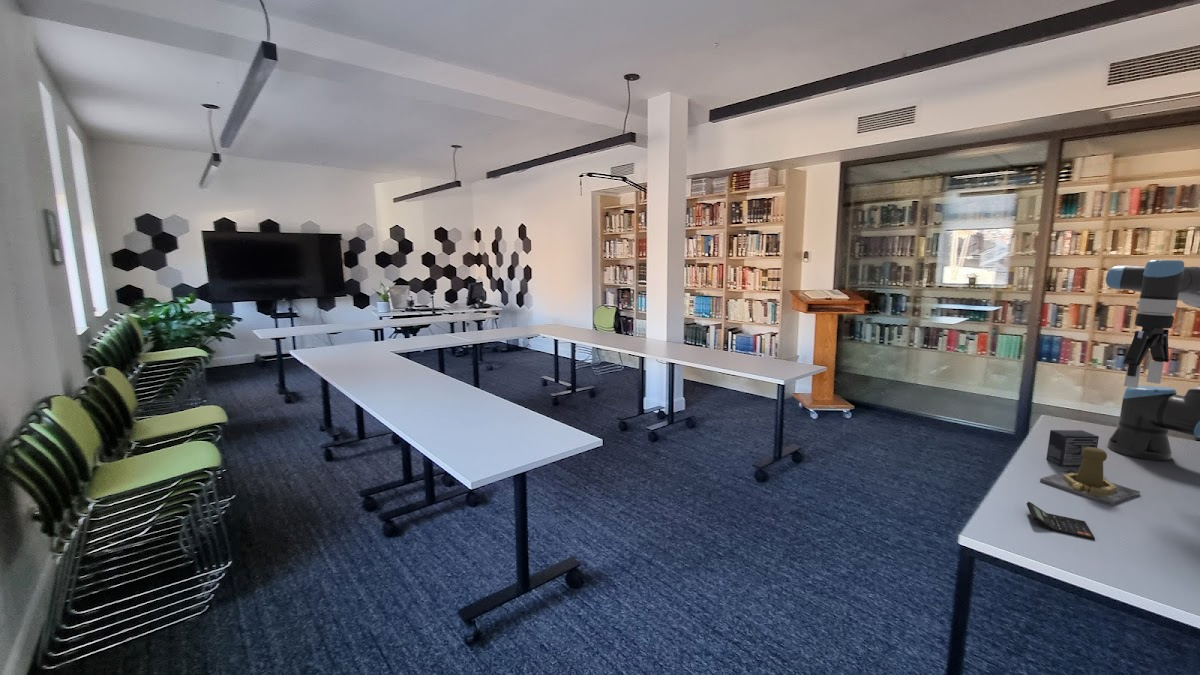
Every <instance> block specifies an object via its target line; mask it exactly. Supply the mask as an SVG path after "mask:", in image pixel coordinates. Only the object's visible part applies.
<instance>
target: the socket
mask: <svg viewBox="0 0 1200 675" xmlns="http://www.w3.org/2000/svg"><path fill="white" fill-rule="evenodd" d="M1077 474H1078V471H1076V470H1072V469H1068V470H1064V471H1061V472H1057V473H1054V474H1050V475H1047V476H1044V477H1041V478H1040V483H1042V484H1043V483H1044V484H1045V485H1048V486H1052V487H1055V488H1057V489H1061V490H1064V491H1065V492H1069V493H1072V494H1076V495H1078V496H1080V497H1084V498H1087V499H1090V500H1092V501H1096V502H1098V503H1102V504H1103V505H1104V504H1105V505H1107V506H1110V507H1111V506H1113V505H1115V504H1119V503H1121V502H1124V501H1127V500H1129V499H1133V498H1135V497H1137V496H1140V493H1141V491H1139V490H1136V489H1134V488H1130V487H1127V486H1124V485H1119V484H1117V483H1113V482H1111V481H1110V480H1107V479H1106V477H1104V476H1103V487H1096V486H1089V485H1086V484H1083V483H1080V482H1077V481H1075V479H1076V477H1077Z"/></svg>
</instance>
